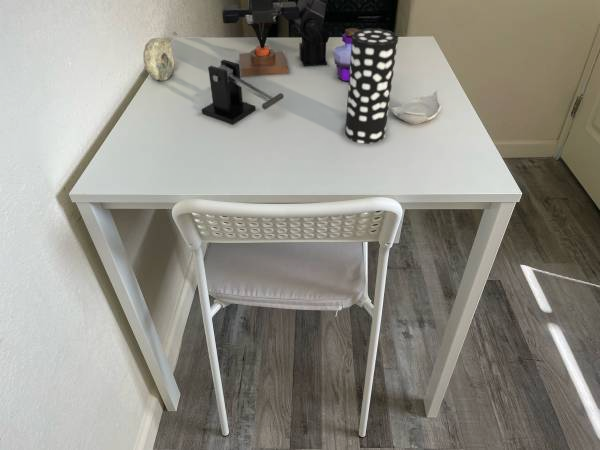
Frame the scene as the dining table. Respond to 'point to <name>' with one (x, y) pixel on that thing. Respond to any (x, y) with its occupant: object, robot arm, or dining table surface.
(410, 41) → the dining table surface
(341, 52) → the potion bottle
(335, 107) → the dining table surface
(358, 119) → the white-spotted black cylinder
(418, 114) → the pottery shard
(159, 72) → the stone ring
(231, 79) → the lever
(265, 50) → the button
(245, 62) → the control block
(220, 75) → the bracket
